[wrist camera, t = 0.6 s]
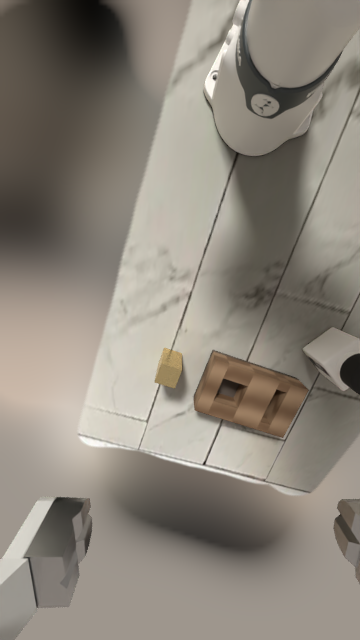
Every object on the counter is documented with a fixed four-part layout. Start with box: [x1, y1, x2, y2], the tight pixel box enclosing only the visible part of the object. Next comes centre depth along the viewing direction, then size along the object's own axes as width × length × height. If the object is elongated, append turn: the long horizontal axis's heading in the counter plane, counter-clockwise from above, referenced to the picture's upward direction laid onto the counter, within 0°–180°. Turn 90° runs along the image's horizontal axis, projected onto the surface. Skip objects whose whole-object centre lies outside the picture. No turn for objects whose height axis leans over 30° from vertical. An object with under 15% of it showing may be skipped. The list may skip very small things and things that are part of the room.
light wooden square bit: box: [155, 348, 182, 389], centre depth 47 cm, size 4×4×8 cm
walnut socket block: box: [194, 350, 309, 438], centre depth 50 cm, size 12×20×5 cm, turn 70°
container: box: [302, 327, 360, 394], centre depth 44 cm, size 8×8×13 cm
